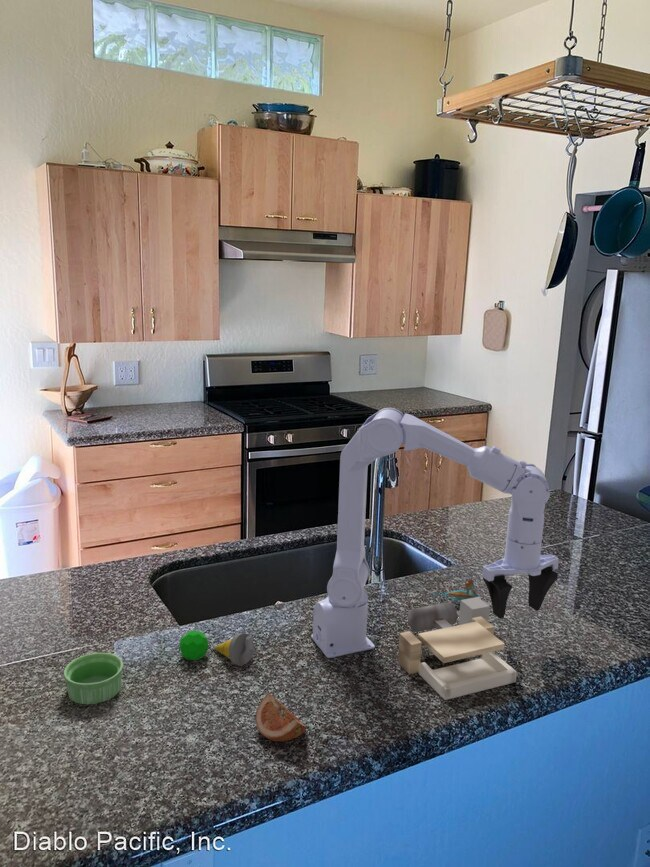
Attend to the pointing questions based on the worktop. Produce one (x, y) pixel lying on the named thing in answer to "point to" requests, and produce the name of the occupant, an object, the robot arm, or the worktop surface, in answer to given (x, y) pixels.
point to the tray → (468, 676)
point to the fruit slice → (277, 720)
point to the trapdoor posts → (412, 647)
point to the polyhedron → (193, 645)
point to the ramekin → (93, 677)
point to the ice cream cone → (238, 649)
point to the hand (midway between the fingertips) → (516, 611)
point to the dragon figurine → (462, 592)
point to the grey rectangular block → (473, 610)
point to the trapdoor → (451, 633)
